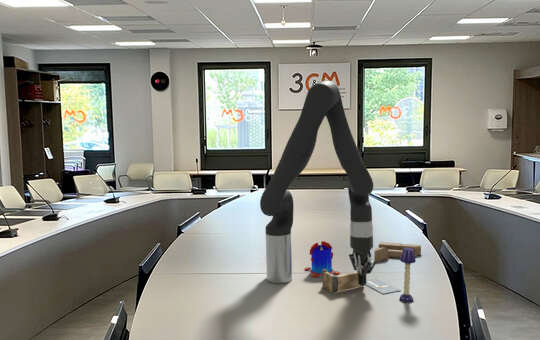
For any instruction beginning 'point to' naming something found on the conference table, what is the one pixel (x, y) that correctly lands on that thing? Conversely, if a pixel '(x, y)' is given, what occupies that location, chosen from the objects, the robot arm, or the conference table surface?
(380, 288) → the card
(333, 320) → the conference table surface
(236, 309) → the conference table surface
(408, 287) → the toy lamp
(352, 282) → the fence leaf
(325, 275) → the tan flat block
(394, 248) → the wooden block set
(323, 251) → the fantasy tower
